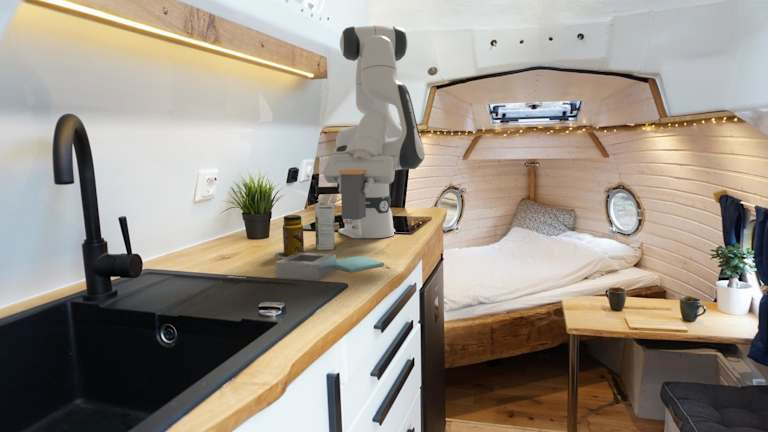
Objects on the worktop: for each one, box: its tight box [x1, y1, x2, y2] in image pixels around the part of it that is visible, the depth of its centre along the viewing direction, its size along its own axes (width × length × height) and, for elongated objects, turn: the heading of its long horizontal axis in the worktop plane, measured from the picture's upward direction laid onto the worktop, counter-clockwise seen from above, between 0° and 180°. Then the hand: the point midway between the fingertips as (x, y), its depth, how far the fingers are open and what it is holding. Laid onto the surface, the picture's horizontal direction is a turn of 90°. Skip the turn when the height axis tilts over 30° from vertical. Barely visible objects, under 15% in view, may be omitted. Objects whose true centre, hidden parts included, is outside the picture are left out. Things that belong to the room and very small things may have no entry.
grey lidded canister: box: [339, 169, 367, 220], centre depth 138 cm, size 6×6×13 cm
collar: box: [275, 252, 337, 281], centre depth 133 cm, size 12×12×4 cm
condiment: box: [275, 214, 305, 259], centre depth 154 cm, size 7×8×12 cm
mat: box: [336, 255, 385, 273], centre depth 141 cm, size 11×11×1 cm
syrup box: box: [314, 201, 336, 251], centre depth 163 cm, size 6×6×14 cm
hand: (352, 192), depth 137 cm, fingers closed on grey lidded canister, 5 cm apart
